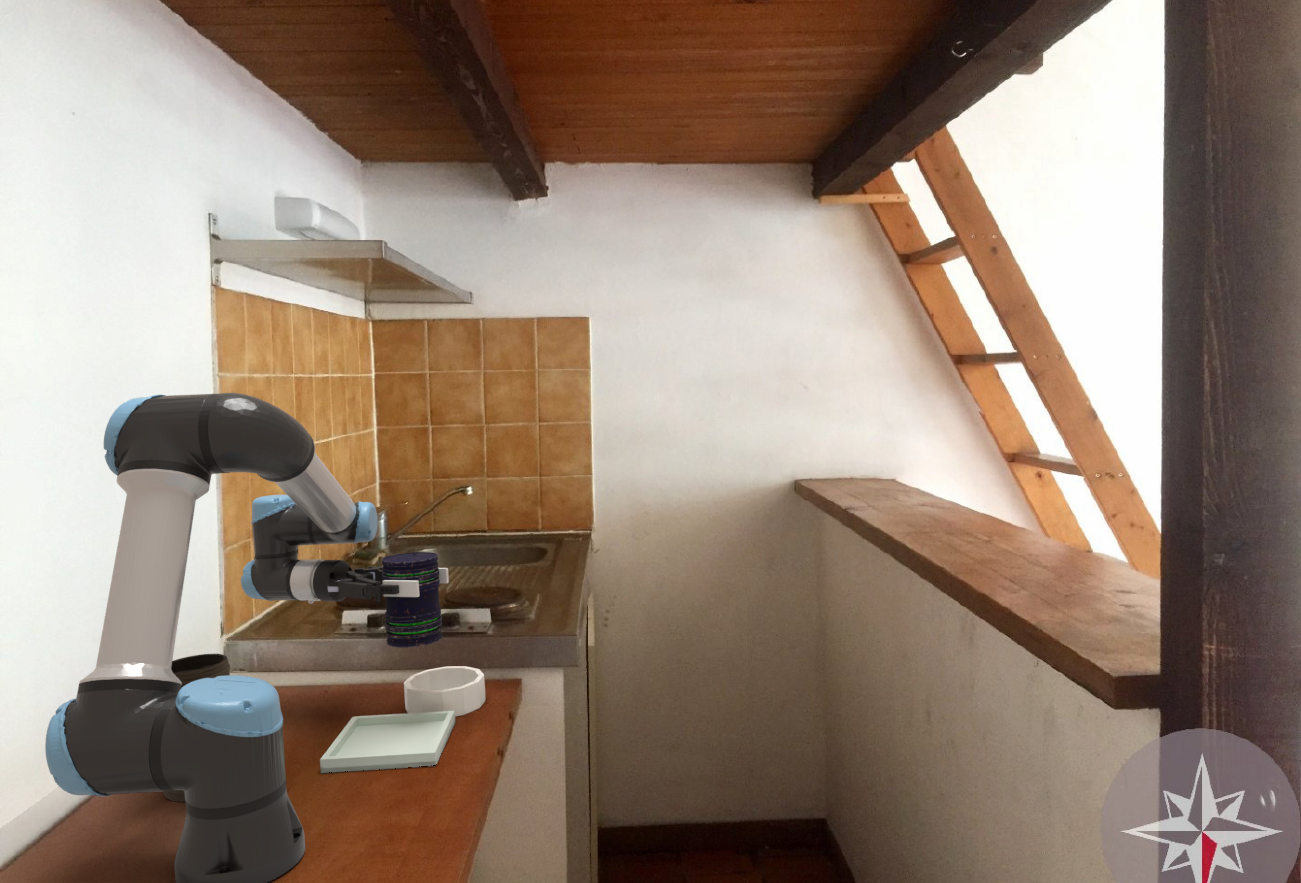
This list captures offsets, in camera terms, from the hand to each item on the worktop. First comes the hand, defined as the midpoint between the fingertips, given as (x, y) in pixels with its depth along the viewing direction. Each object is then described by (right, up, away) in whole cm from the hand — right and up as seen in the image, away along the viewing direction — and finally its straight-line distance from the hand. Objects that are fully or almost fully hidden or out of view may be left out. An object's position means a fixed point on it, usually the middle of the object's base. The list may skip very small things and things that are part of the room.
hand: (433, 582), depth 155 cm
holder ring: (0, -25, +11) cm, 28 cm away
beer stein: (-33, -29, -19) cm, 48 cm away
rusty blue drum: (-4, -11, +2) cm, 12 cm away
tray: (-5, -27, -7) cm, 28 cm away
